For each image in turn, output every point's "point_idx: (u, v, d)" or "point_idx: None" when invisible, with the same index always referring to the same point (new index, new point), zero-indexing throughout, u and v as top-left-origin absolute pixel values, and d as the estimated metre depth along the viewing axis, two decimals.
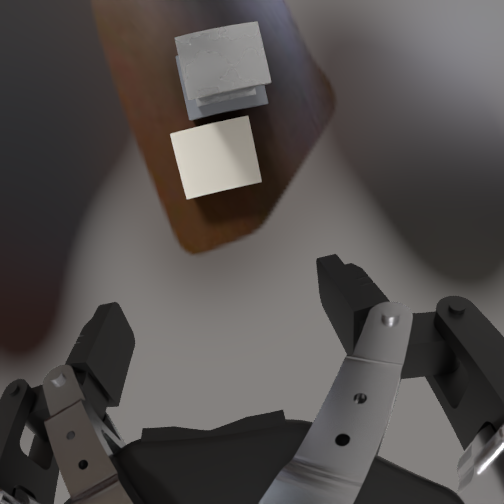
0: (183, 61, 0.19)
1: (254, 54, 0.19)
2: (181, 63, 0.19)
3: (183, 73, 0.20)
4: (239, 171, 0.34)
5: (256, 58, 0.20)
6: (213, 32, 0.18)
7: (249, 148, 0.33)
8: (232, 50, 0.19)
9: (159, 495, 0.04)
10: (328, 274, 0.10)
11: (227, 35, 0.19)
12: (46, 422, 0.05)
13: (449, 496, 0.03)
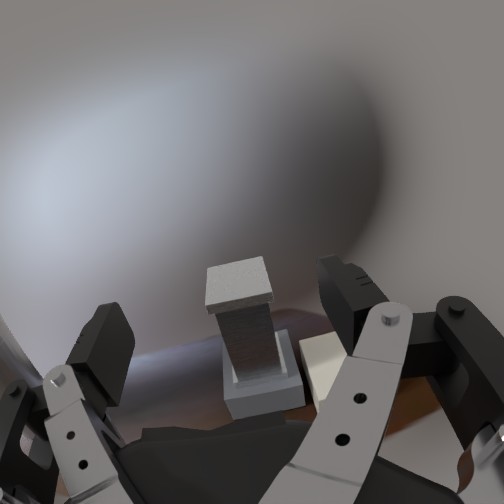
0: (232, 298, 0.24)
1: (236, 265, 0.29)
2: (234, 298, 0.24)
3: (245, 296, 0.24)
4: None
5: (240, 264, 0.29)
6: (210, 285, 0.27)
7: (332, 335, 0.33)
8: (230, 275, 0.28)
9: (159, 495, 0.04)
10: (328, 274, 0.10)
11: (215, 278, 0.28)
12: (46, 422, 0.05)
13: (449, 496, 0.03)
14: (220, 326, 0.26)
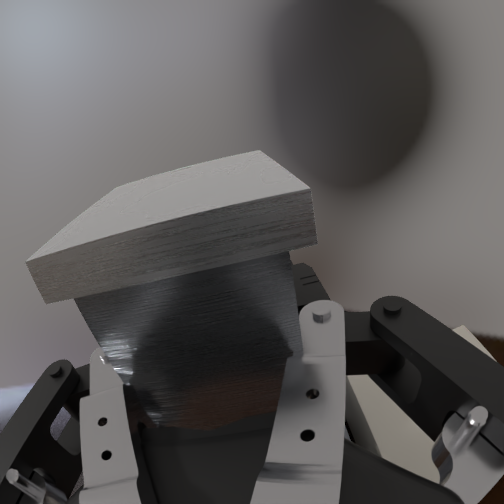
0: (124, 227, 0.05)
1: (187, 169, 0.10)
2: (127, 228, 0.05)
3: (175, 216, 0.05)
4: None
5: (198, 165, 0.10)
6: (92, 210, 0.07)
7: None
8: (161, 183, 0.08)
9: (159, 495, 0.04)
10: None
11: (117, 196, 0.08)
12: (81, 402, 0.05)
13: (449, 496, 0.03)
14: (107, 350, 0.06)
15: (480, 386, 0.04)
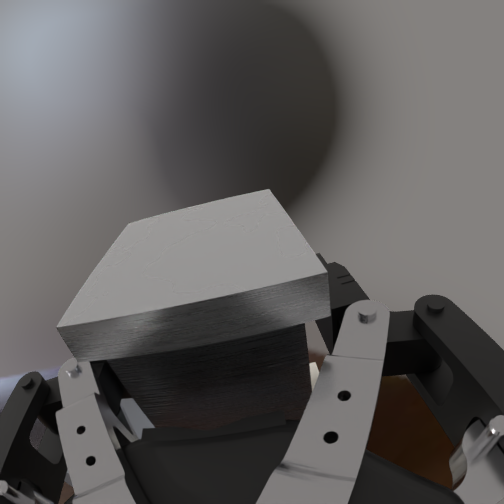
0: (153, 301, 0.05)
1: (199, 210, 0.10)
2: (158, 306, 0.05)
3: (204, 297, 0.05)
4: None
5: (210, 207, 0.10)
6: (110, 260, 0.08)
7: None
8: (175, 230, 0.09)
9: (159, 495, 0.04)
10: None
11: (132, 242, 0.09)
12: (57, 414, 0.05)
13: (449, 496, 0.03)
14: (135, 395, 0.07)
15: None
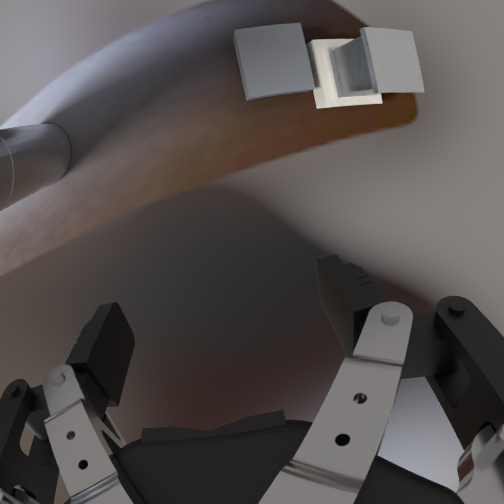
0: (398, 89, 0.22)
1: (392, 36, 0.20)
2: (399, 91, 0.22)
3: (407, 91, 0.22)
4: None
5: (395, 36, 0.20)
6: (376, 61, 0.21)
7: (342, 43, 0.29)
8: (390, 51, 0.21)
9: (159, 495, 0.04)
10: (328, 274, 0.10)
11: (378, 51, 0.21)
12: (46, 422, 0.05)
13: (449, 496, 0.03)
14: (369, 89, 0.25)
15: None
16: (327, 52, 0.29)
